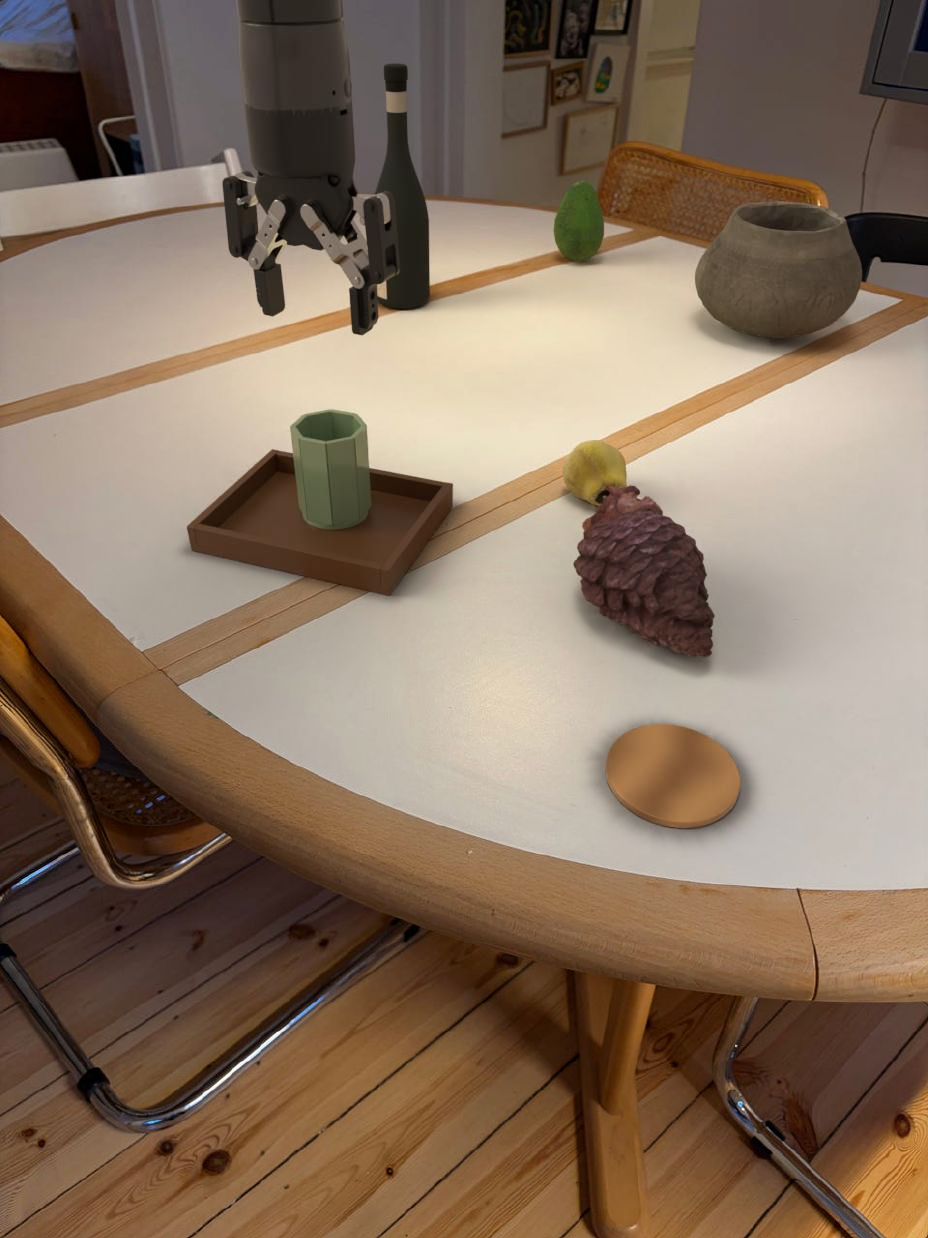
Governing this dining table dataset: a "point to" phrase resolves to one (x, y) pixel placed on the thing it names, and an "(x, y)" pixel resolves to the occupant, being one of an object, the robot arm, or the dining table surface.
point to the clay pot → (780, 270)
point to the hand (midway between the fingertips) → (318, 322)
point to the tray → (281, 539)
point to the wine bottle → (404, 202)
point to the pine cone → (646, 573)
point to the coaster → (672, 775)
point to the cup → (332, 468)
